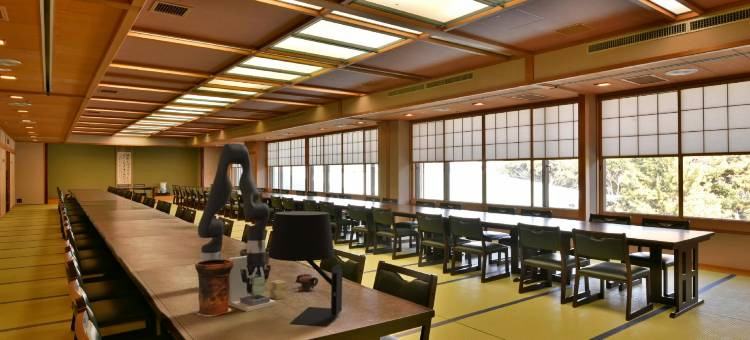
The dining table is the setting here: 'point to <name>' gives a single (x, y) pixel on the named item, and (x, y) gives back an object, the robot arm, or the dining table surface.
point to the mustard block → (278, 289)
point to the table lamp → (308, 256)
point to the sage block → (257, 286)
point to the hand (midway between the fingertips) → (255, 291)
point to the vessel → (213, 286)
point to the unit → (244, 289)
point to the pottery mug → (306, 282)
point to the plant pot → (244, 253)
